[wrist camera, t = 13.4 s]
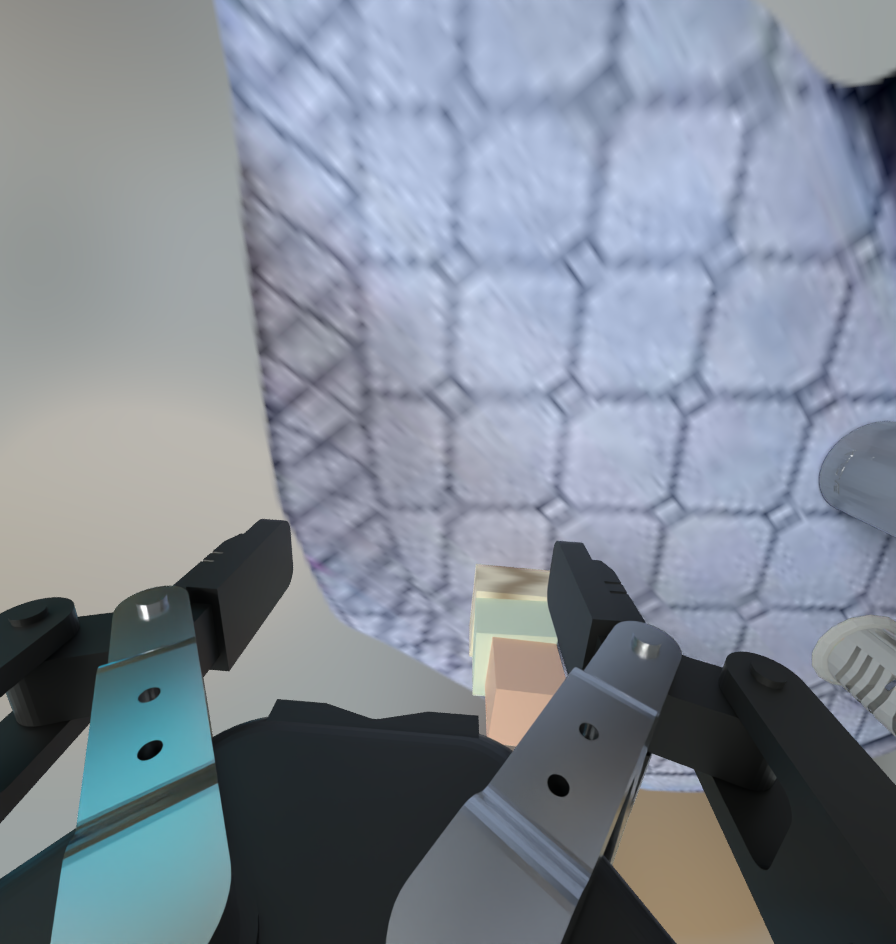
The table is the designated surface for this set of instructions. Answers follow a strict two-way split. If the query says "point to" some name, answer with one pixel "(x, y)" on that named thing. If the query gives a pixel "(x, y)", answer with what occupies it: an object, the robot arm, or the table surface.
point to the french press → (862, 663)
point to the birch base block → (507, 587)
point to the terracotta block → (519, 686)
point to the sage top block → (506, 629)
